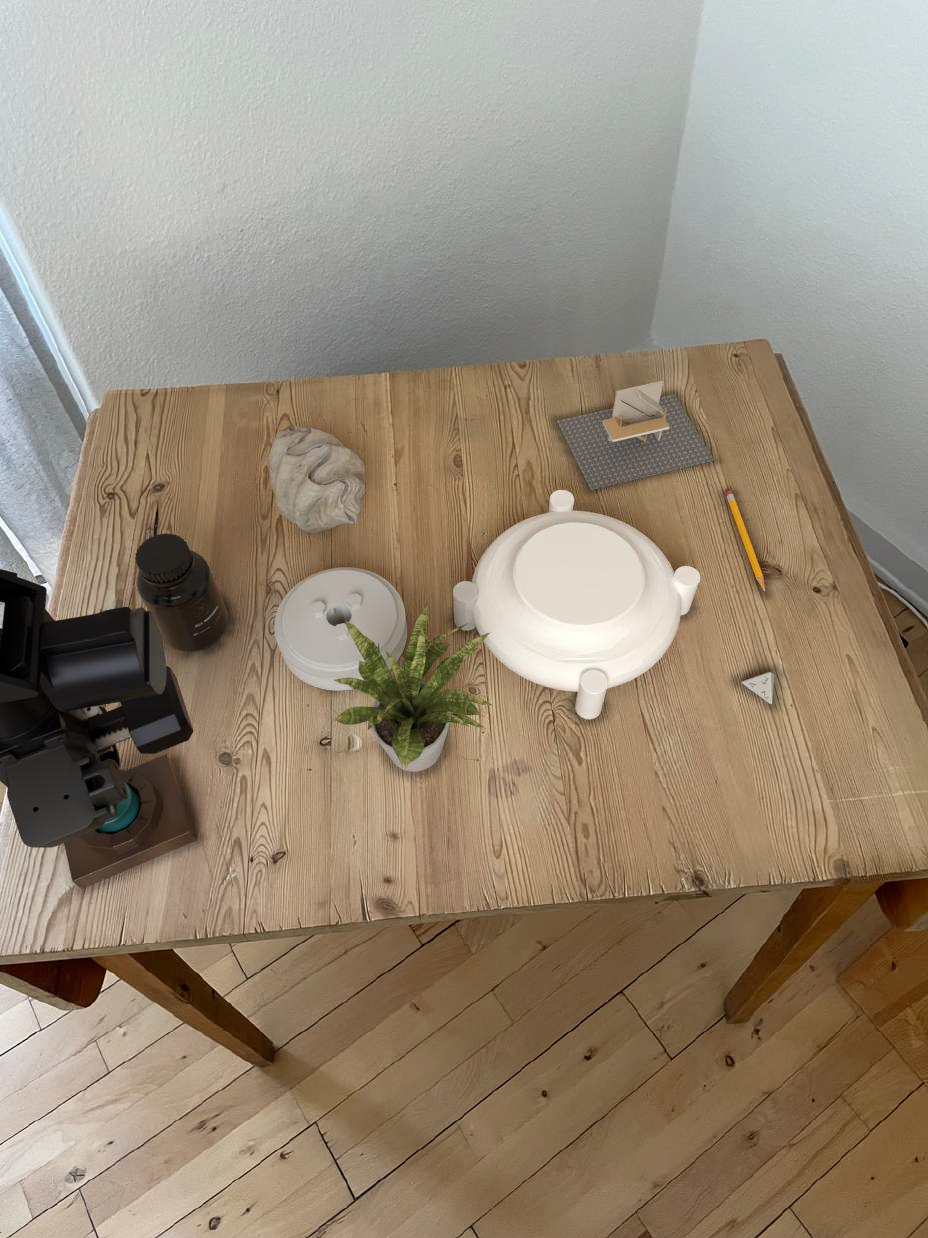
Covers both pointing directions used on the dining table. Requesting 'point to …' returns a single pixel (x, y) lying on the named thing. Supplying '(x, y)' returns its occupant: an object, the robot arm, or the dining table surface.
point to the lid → (338, 624)
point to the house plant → (411, 696)
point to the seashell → (315, 479)
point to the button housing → (135, 827)
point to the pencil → (745, 539)
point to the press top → (123, 813)
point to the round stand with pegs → (575, 601)
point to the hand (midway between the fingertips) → (98, 790)
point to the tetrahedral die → (762, 686)
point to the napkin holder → (634, 438)
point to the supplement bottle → (180, 593)
